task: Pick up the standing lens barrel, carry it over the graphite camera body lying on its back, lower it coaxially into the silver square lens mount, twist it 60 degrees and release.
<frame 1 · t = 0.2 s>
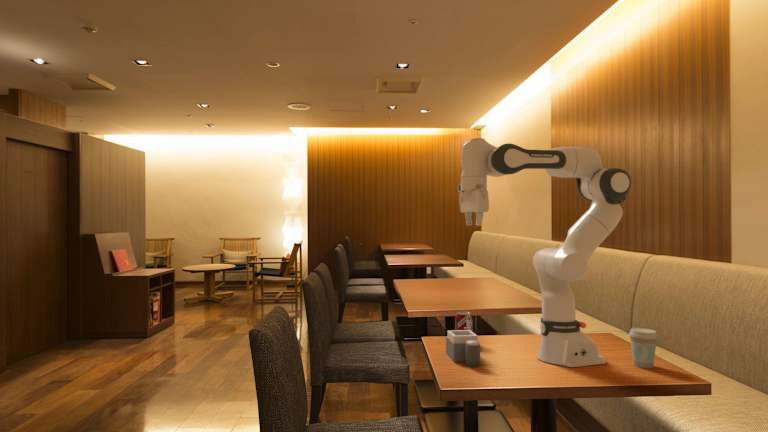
hand: (473, 225, 162), 47 cm above the table, tool pointing down, fingers open, 8 cm apart
soda can: (463, 343, 187), on the table
lens: (472, 365, 159), on the table
coffee cup: (643, 366, 158), on the table
camera body: (462, 356, 168), on the table
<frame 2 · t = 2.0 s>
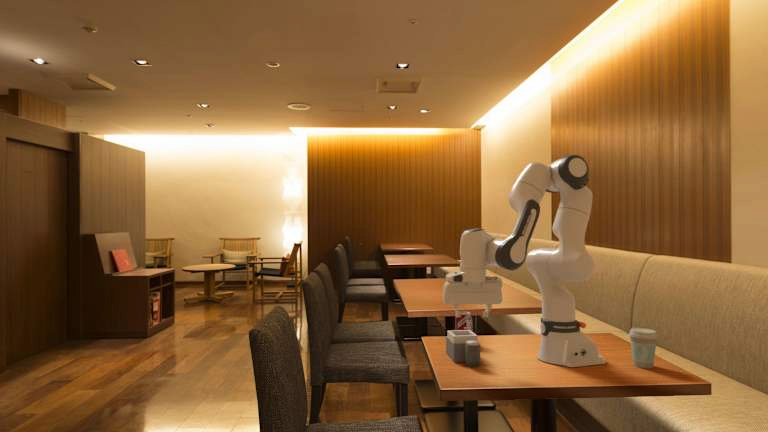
hand: (471, 317, 159), 16 cm above the table, tool pointing down, fingers open, 8 cm apart
nothing on the table moved.
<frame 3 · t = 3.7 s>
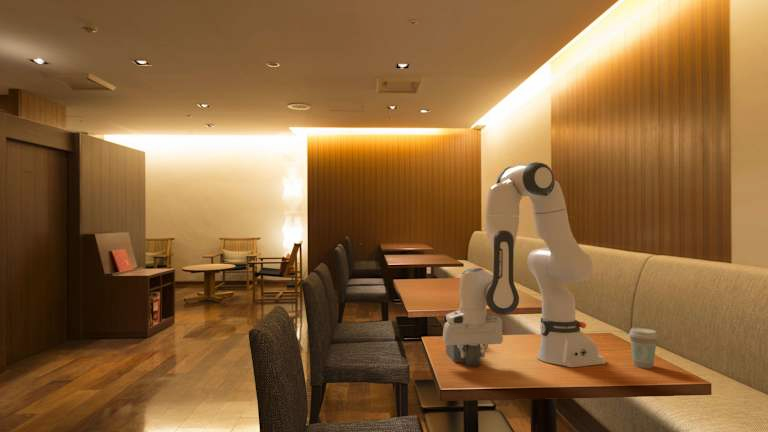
hand: (472, 357, 159), 3 cm above the table, tool pointing down, fingers closed on lens, 5 cm apart
lens: (472, 365, 159), on the table, touching gripper
everything else where it was.
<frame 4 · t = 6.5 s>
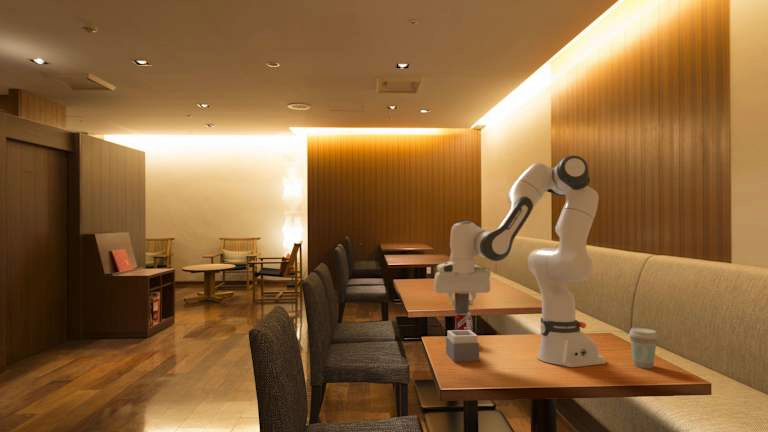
hand: (461, 305, 168), 18 cm above the table, tool pointing down, fingers closed on lens, 5 cm apart
lens: (461, 312, 168), point 16 cm above the table, touching gripper
everything else where it was.
when the fingers open (10 cm above the table, at t = 9.2 s): lens stays where it is, resting on camera body.
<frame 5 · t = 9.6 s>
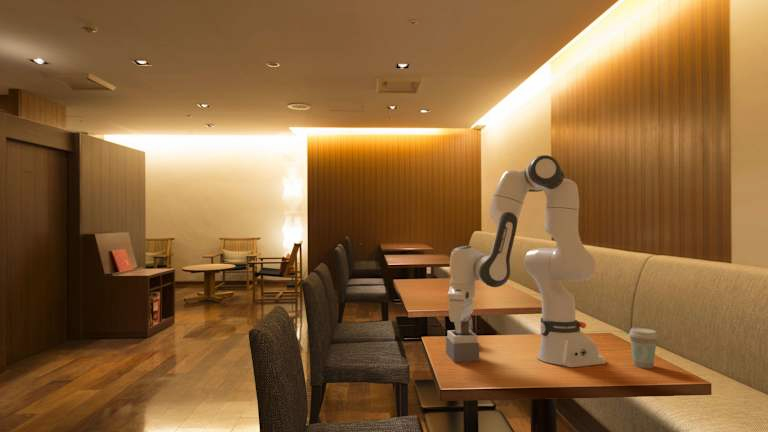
hand: (462, 330, 168), 10 cm above the table, tool pointing down, fingers open, 8 cm apart
lens: (462, 340, 168), point 6 cm above the table, touching camera body
everything else where it was.
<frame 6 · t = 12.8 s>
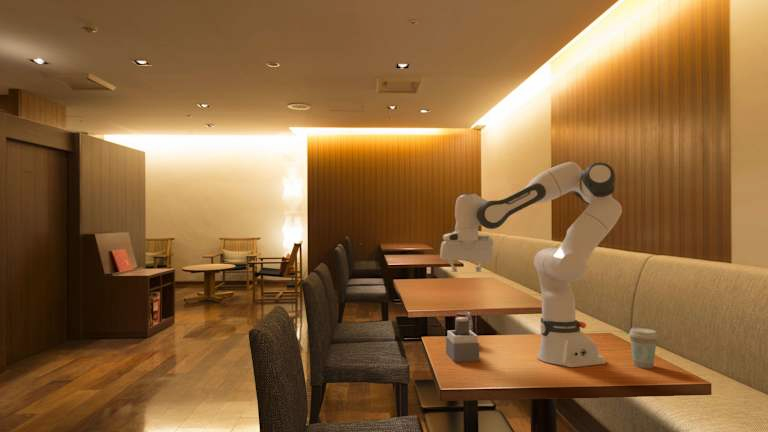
hand: (466, 271, 180), 29 cm above the table, tool pointing down, fingers open, 8 cm apart
nothing on the table moved.
at the end: lens 0.1 cm off-centre on the camera body, point 6.0 cm above the camera body's base; lens tilted 1°; the gripper is holding nothing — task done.
